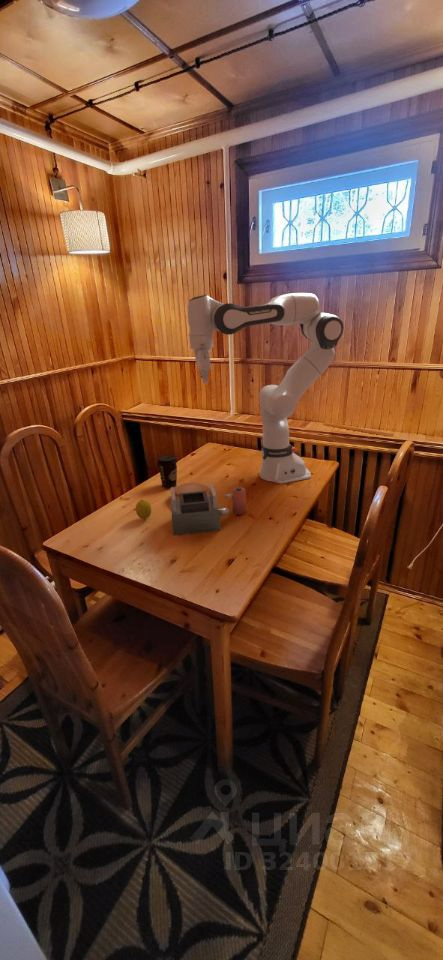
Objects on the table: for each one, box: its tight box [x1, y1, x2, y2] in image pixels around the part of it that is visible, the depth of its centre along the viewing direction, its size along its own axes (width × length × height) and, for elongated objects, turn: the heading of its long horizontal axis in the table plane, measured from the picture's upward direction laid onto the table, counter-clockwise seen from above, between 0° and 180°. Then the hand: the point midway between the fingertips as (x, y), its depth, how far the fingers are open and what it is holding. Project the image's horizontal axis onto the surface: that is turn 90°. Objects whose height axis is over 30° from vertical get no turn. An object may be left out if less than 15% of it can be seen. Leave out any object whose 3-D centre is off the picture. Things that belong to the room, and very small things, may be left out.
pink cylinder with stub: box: [224, 486, 247, 516], centre depth 151 cm, size 8×5×10 cm, turn 98°
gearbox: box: [170, 483, 230, 536], centre depth 143 cm, size 20×12×13 cm, turn 98°
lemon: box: [135, 498, 152, 520], centre depth 149 cm, size 6×6×8 cm
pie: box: [174, 482, 210, 499], centre depth 163 cm, size 15×16×5 cm
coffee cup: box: [156, 454, 178, 490], centre depth 174 cm, size 9×8×13 cm
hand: (204, 380), depth 158 cm, fingers open, 8 cm apart
